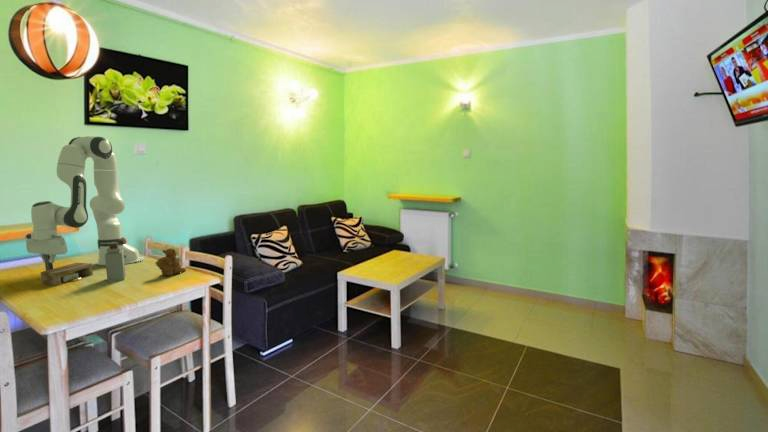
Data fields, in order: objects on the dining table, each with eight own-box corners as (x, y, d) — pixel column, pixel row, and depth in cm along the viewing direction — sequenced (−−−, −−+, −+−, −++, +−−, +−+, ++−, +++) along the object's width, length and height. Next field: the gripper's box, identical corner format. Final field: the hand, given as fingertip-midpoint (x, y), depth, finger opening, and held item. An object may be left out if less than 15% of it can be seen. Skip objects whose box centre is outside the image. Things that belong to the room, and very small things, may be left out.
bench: (42, 284, 184) (40, 272, 183) (77, 274, 202) (76, 262, 201) (58, 285, 182) (56, 273, 182) (92, 274, 200) (91, 263, 199)
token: (82, 278, 194) (82, 276, 194) (80, 280, 191) (80, 278, 190) (70, 279, 192) (70, 277, 192) (69, 282, 188) (69, 280, 188)
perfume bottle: (107, 281, 189) (103, 245, 186) (109, 278, 195) (106, 242, 192) (124, 279, 192) (120, 244, 189) (125, 276, 198) (122, 241, 195)
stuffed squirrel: (187, 270, 209) (185, 246, 207) (173, 278, 195) (171, 252, 193) (168, 270, 209) (167, 246, 208) (153, 278, 195) (151, 252, 194)
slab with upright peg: (40, 280, 191) (37, 256, 189) (54, 276, 198) (52, 252, 196) (64, 281, 188) (62, 257, 187) (78, 277, 195) (76, 254, 193)
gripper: (69, 234, 192) (72, 261, 194) (35, 233, 196) (38, 259, 198) (56, 236, 186) (59, 265, 188) (21, 235, 190) (25, 263, 191)
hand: (48, 262), depth 193 cm, fingers closed on slab with upright peg
